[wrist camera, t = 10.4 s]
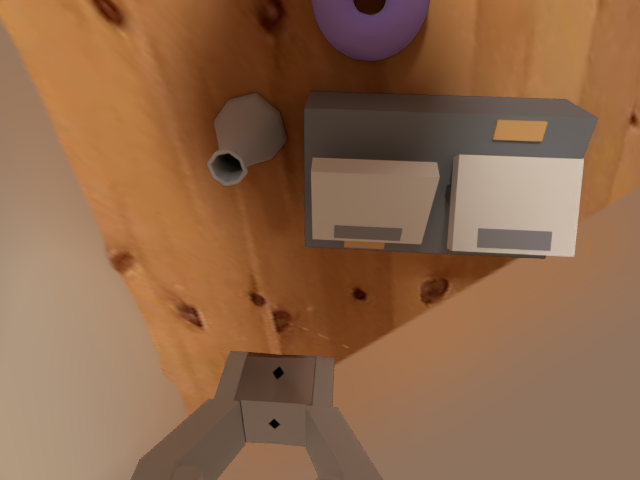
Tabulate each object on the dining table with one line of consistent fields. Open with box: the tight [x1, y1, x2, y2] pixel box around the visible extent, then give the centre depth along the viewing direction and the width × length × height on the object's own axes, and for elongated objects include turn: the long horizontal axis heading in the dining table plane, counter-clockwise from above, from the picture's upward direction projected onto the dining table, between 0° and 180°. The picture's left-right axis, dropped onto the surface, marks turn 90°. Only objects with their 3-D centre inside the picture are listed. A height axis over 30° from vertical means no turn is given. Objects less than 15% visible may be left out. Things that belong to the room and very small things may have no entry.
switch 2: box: [447, 154, 584, 257], centre depth 35 cm, size 8×10×2 cm
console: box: [304, 91, 598, 259], centre depth 40 cm, size 14×24×8 cm, turn 89°
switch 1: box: [311, 157, 440, 244], centre depth 36 cm, size 8×10×2 cm
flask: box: [207, 93, 288, 187], centre depth 38 cm, size 7×7×10 cm
